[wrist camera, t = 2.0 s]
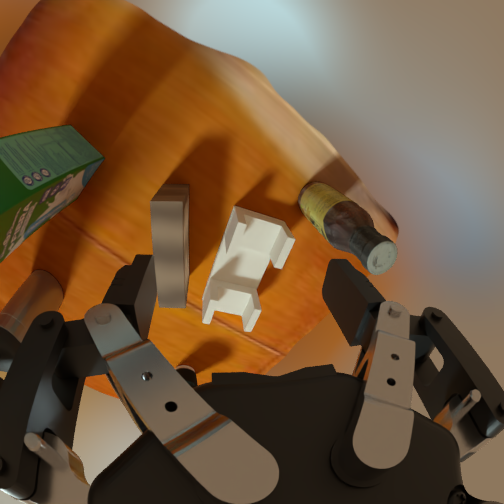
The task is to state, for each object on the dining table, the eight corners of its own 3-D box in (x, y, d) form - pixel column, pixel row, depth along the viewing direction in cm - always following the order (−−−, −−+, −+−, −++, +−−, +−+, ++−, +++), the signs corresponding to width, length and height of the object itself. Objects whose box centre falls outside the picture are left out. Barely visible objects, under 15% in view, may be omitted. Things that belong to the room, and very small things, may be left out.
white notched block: (246, 306, 51) (251, 332, 45) (202, 296, 49) (201, 322, 42) (284, 221, 44) (296, 239, 38) (233, 205, 41) (237, 221, 35)
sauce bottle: (290, 209, 43) (340, 276, 25) (306, 174, 40) (371, 220, 23) (324, 222, 45) (384, 289, 27) (339, 189, 42) (413, 241, 25)
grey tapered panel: (189, 275, 46) (186, 308, 38) (167, 274, 46) (159, 307, 38) (189, 184, 39) (183, 201, 31) (163, 183, 38) (150, 201, 31)
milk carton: (70, 123, 31) (-50, 152, 9) (105, 157, 35) (-3, 215, 13) (43, 167, 33) (-64, 227, 11) (76, 200, 37) (-20, 284, 15)
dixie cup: (177, 382, 60) (175, 419, 50) (162, 364, 56) (158, 403, 47) (206, 377, 60) (207, 415, 50) (193, 358, 56) (193, 398, 47)
